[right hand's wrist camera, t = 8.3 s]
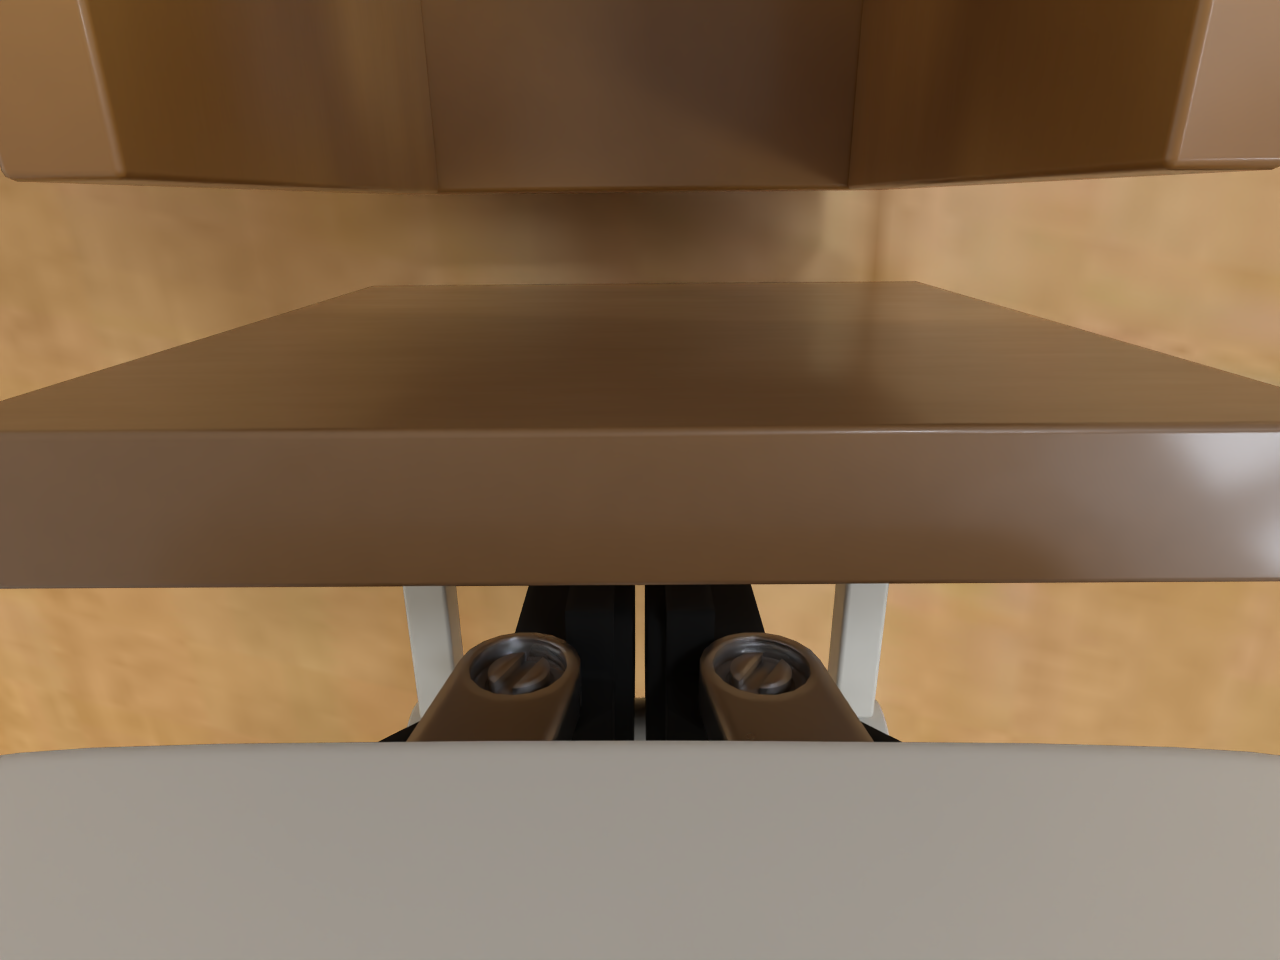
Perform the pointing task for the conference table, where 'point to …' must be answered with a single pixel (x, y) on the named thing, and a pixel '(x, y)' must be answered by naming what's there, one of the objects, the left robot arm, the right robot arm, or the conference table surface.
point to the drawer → (639, 309)
